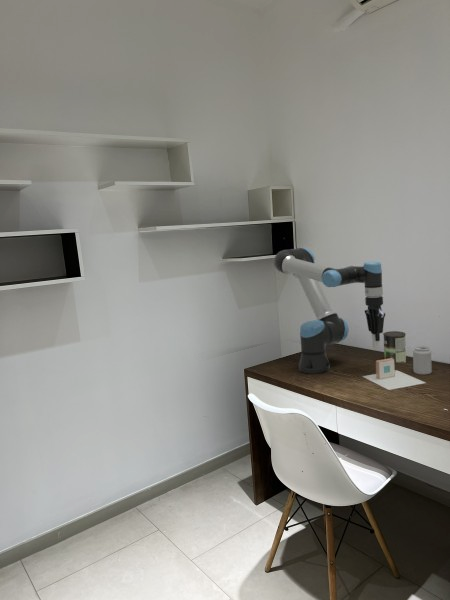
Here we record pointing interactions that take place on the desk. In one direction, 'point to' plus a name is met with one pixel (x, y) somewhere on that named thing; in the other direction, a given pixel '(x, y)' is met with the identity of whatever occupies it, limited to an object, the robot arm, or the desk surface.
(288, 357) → the desk surface
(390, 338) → the coffee can
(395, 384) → the mat
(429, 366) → the can
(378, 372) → the tile
